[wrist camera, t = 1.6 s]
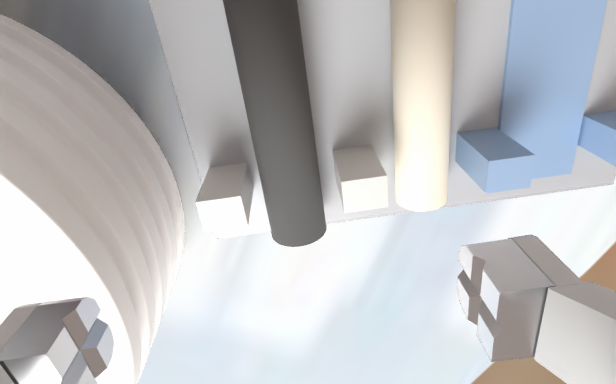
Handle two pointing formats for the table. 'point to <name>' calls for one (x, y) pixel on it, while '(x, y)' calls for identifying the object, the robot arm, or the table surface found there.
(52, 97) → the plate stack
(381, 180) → the rod display rack
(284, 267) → the table surface
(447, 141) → the rod
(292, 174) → the dark gray rod
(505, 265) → the robot arm
